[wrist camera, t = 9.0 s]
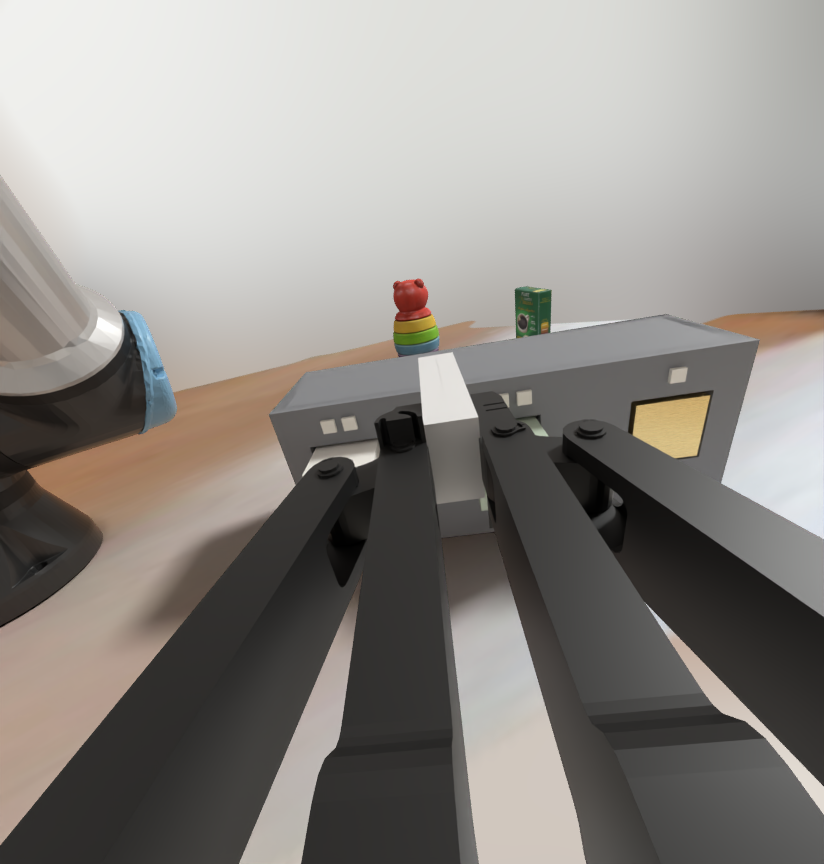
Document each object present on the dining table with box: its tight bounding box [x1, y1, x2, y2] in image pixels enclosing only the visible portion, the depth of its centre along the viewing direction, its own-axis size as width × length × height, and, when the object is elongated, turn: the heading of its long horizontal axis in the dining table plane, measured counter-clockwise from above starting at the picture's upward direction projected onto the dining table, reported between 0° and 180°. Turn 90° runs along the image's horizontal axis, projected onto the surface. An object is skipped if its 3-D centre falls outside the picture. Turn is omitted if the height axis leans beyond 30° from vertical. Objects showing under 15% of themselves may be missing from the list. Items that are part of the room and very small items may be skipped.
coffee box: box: [515, 287, 552, 338], centre depth 68 cm, size 8×3×13 cm, turn 15°
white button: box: [302, 438, 380, 477], centre depth 29 cm, size 6×5×5 cm
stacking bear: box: [393, 279, 439, 357], centre depth 74 cm, size 11×10×18 cm
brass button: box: [628, 392, 710, 458], centre depth 29 cm, size 6×5×5 cm
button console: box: [269, 314, 760, 538], centre depth 33 cm, size 10×34×14 cm, turn 89°
